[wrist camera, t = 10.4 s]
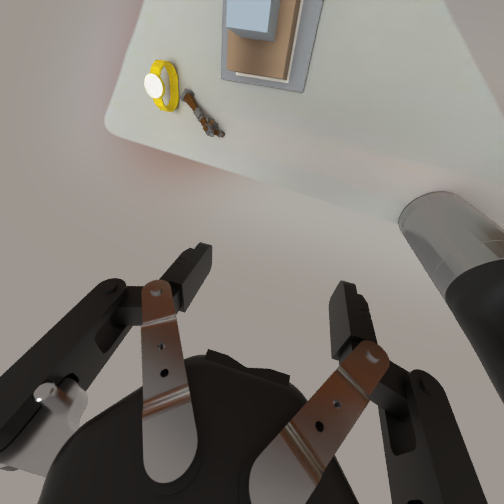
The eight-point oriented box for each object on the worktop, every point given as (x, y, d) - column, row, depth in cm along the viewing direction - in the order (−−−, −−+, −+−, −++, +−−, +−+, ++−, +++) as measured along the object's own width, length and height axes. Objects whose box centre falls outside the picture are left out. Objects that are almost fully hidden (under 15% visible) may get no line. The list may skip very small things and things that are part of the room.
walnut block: (307, -39, 23) (306, -65, 19) (286, 80, 29) (282, 78, 25) (245, -45, 24) (232, -72, 20) (237, 72, 30) (226, 69, 26)
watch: (165, 62, 32) (140, 53, 27) (183, 66, 32) (160, 57, 27) (168, 109, 36) (146, 108, 31) (183, 112, 35) (163, 112, 30)
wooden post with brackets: (223, 144, 36) (205, 139, 32) (198, 106, 37) (178, 97, 33) (229, 136, 35) (212, 130, 31) (204, 97, 36) (184, 87, 32)
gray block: (282, -14, 21) (275, -38, 17) (274, 42, 24) (267, 32, 20) (243, -19, 21) (228, -43, 18) (240, 37, 24) (226, 26, 20)
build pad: (333, -46, 23) (334, -52, 22) (302, 92, 30) (302, 92, 29) (227, -57, 24) (224, -62, 23) (223, 79, 31) (220, 78, 31)
